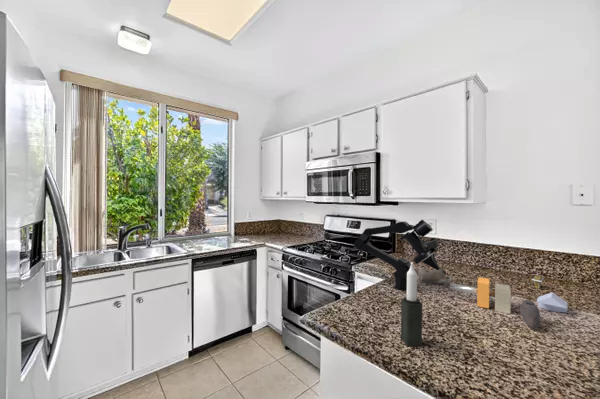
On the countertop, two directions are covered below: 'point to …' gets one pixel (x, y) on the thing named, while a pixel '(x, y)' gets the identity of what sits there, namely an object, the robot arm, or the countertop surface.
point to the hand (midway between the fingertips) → (438, 269)
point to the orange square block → (483, 292)
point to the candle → (411, 312)
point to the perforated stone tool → (530, 314)
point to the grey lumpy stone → (434, 276)
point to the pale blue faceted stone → (552, 302)
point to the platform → (538, 281)
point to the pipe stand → (492, 295)
